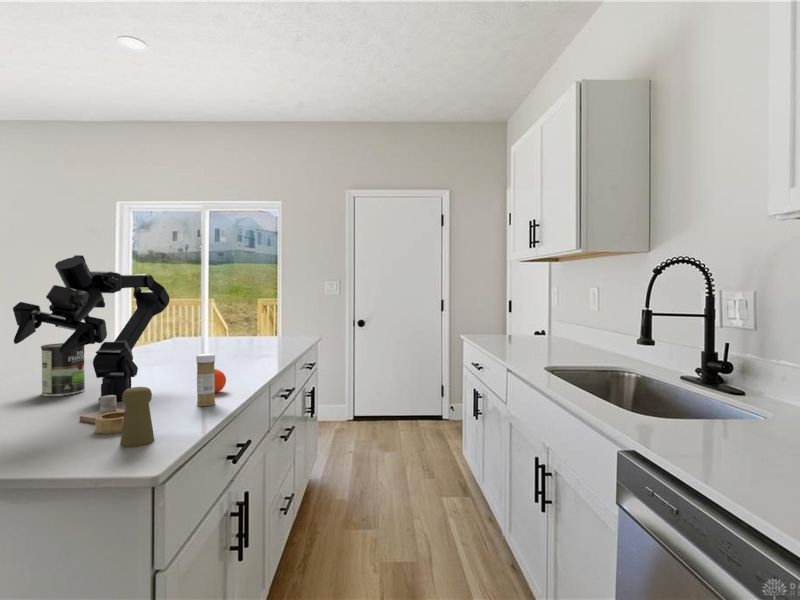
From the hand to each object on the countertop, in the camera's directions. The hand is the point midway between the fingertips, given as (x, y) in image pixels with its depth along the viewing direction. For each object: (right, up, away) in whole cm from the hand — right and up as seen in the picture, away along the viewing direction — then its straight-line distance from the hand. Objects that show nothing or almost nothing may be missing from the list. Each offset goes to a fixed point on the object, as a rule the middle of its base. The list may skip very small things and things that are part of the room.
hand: (37, 346), depth 100 cm
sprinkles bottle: (+27, -18, +22) cm, 39 cm away
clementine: (+23, -17, +37) cm, 47 cm away
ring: (+17, -18, +1) cm, 24 cm away
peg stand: (+10, -18, +9) cm, 22 cm away
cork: (+26, -19, -8) cm, 33 cm away
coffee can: (-19, -17, +34) cm, 43 cm away
